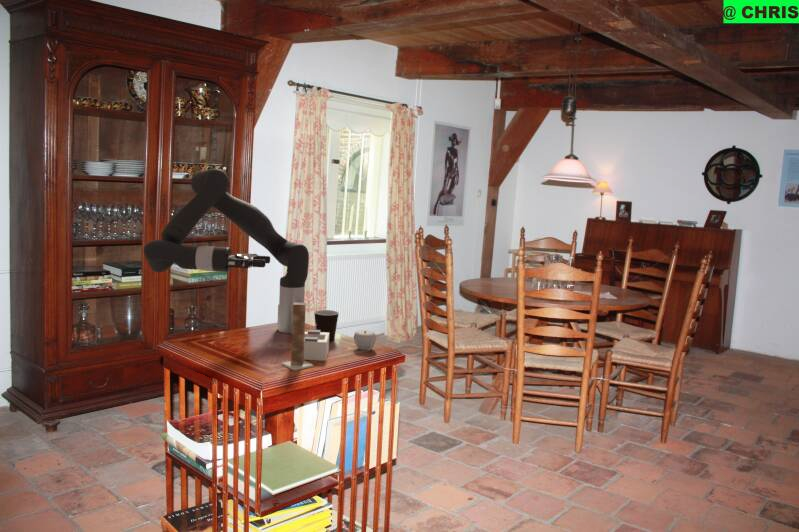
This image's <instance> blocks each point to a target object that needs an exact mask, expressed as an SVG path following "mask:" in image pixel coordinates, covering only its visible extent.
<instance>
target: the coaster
mask: <svg viewBox="0 0 799 532" xmlns="http://www.w3.org/2000/svg"><path fill="white" fill-rule="evenodd" d="M281 366H284V367H285V368H288V369H290V370H291V371H299V370H303V369H309V368H314V364H312V363H311V362H308V361H306V360H304V362H303V365H302V366H298V365H291V360H289V361H283V362H281Z"/></svg>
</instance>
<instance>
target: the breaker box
mask: <svg viewBox="0 0 799 532" xmlns="http://www.w3.org/2000/svg"><path fill="white" fill-rule="evenodd" d="M304 337H305V339H304V361H306V360H307V361H309V360H310V361H327V357H328V353H329V348H330V347H329V346H330V342H329V333H327V332H321V330H316V329H308V330H307V331H306V330H305V336H304ZM318 338H319V339H318Z"/></svg>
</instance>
